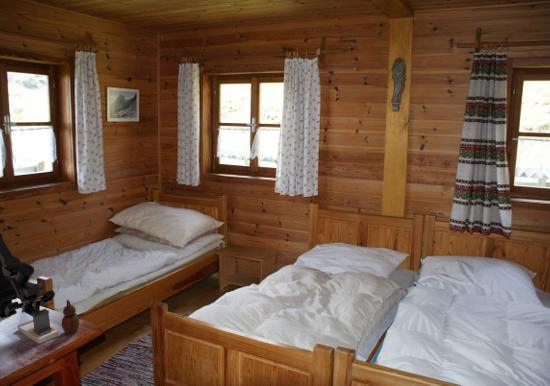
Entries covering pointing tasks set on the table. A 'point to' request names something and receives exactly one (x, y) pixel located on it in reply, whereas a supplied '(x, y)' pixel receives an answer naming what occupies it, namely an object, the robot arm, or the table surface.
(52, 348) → the table surface
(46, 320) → the fader knob
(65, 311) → the wooden figurine
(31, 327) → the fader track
